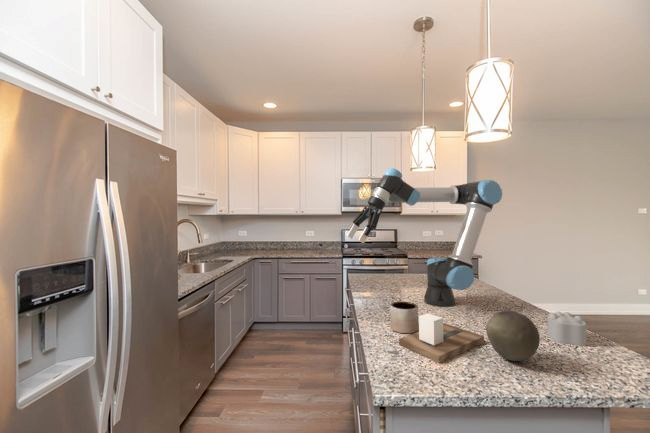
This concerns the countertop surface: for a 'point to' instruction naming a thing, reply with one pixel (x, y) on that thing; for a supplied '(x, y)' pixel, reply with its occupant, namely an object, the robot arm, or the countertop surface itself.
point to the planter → (404, 317)
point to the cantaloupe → (513, 335)
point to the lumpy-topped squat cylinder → (567, 329)
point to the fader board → (443, 343)
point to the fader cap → (431, 329)
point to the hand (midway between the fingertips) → (354, 239)
